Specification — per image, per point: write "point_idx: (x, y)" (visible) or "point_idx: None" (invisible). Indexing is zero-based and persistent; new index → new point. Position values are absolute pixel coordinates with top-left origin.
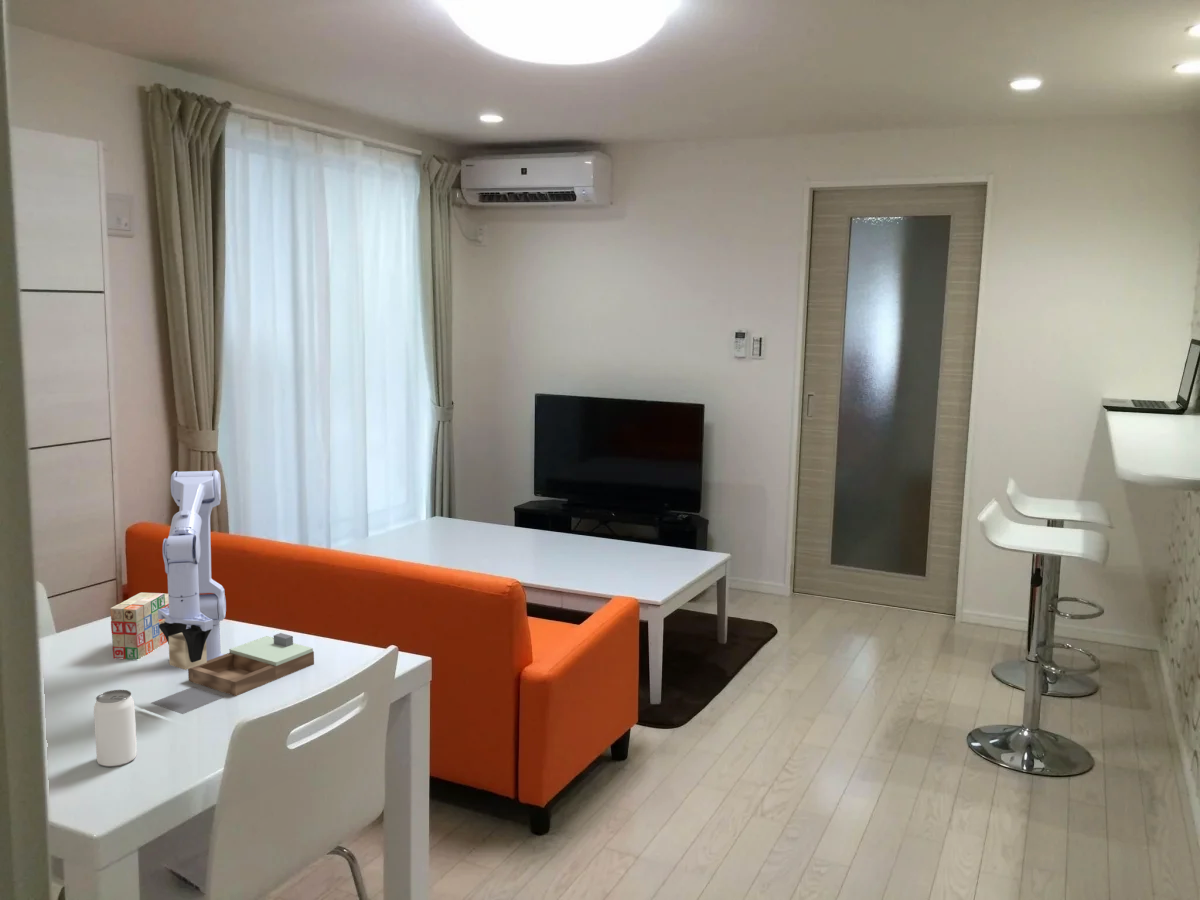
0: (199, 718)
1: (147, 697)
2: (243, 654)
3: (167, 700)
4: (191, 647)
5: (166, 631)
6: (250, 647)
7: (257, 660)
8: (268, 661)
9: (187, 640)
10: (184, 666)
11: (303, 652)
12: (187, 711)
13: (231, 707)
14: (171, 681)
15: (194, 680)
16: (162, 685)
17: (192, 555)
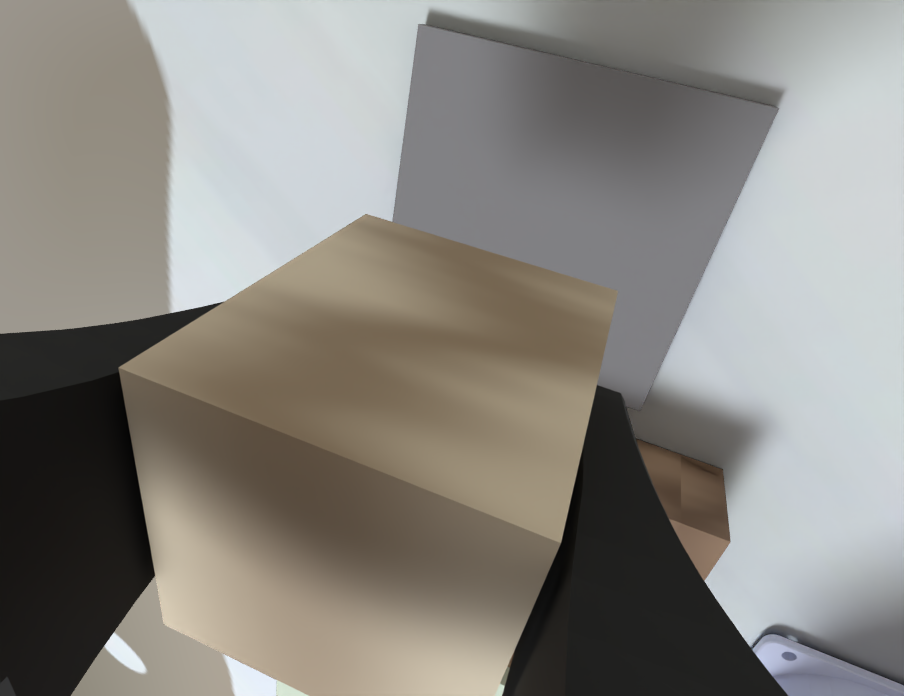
0: (318, 39)
1: (897, 226)
2: (503, 677)
3: (670, 186)
4: (124, 325)
5: (580, 641)
6: None
7: None
8: None
9: (54, 366)
10: (365, 227)
11: None
12: (418, 70)
13: (286, 233)
14: (861, 483)
15: (668, 468)
16: (893, 425)
17: None
